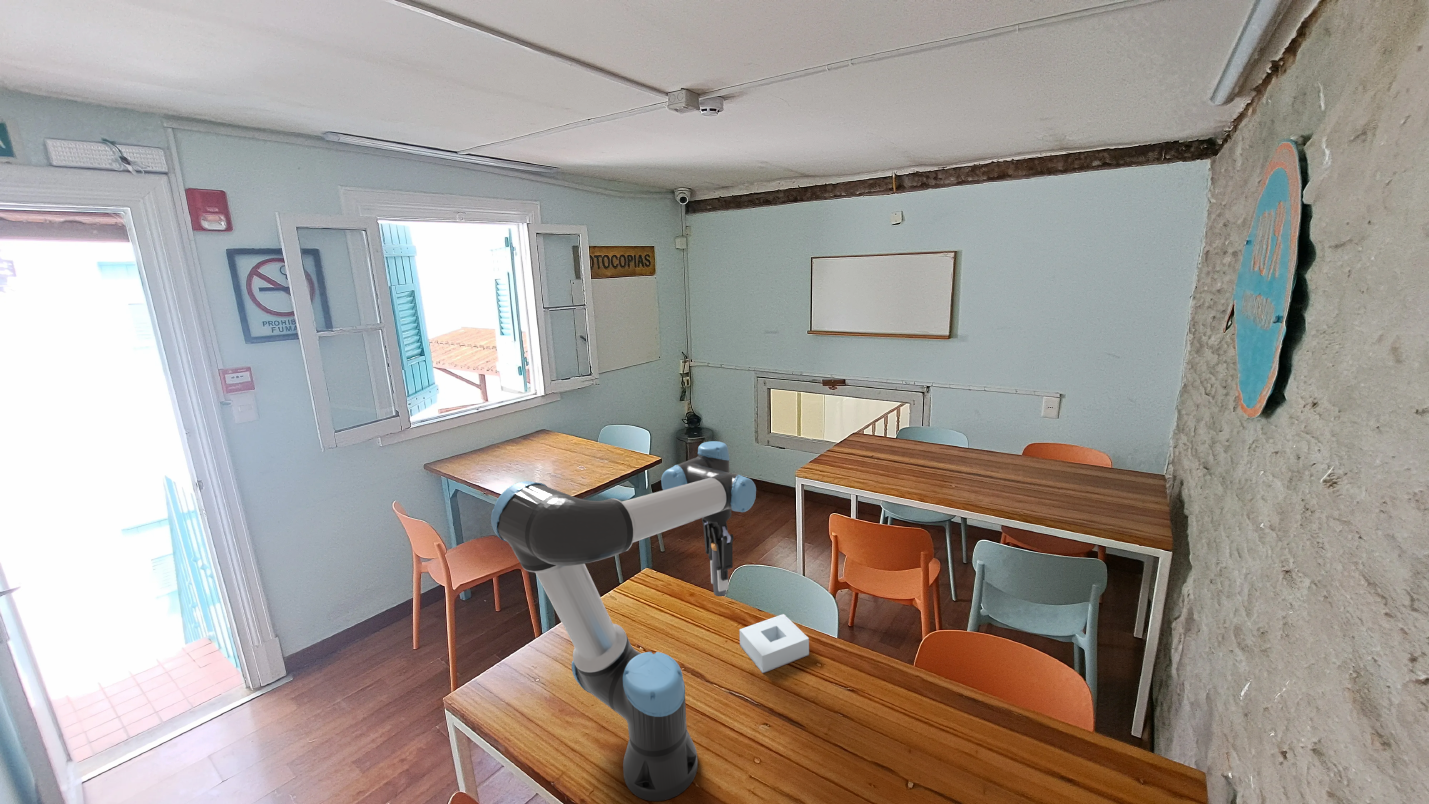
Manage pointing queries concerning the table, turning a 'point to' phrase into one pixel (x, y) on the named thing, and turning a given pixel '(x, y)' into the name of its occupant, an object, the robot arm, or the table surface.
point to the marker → (715, 564)
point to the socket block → (774, 643)
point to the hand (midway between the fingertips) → (719, 585)
